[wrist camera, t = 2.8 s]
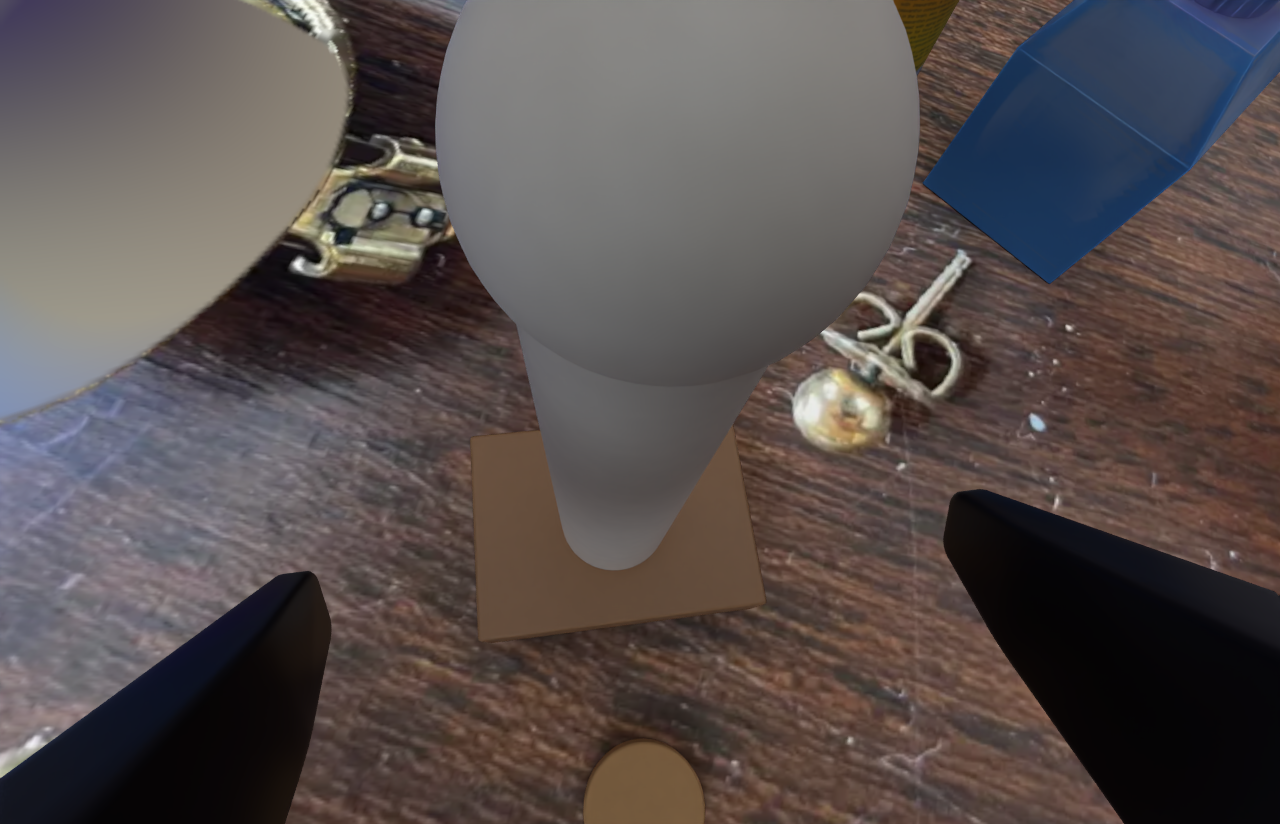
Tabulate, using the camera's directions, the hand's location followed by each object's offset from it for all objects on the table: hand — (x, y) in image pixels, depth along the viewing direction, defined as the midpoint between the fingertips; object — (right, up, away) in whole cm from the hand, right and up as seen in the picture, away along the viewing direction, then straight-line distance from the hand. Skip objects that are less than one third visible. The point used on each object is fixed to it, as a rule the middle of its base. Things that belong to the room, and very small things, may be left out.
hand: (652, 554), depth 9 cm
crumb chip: (0, -9, +9) cm, 12 cm away
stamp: (-1, -2, +11) cm, 11 cm away
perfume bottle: (+15, +11, +17) cm, 26 cm away
